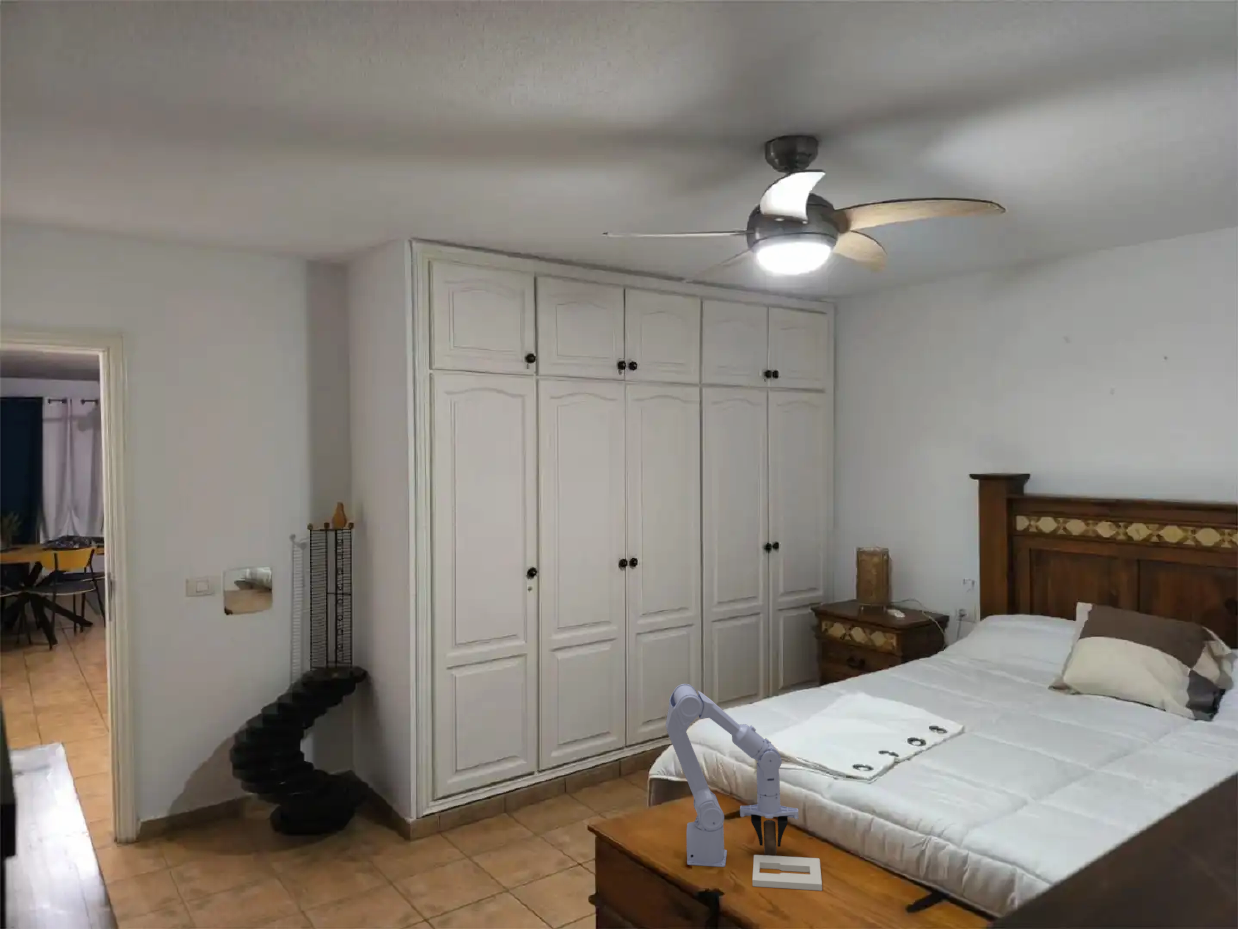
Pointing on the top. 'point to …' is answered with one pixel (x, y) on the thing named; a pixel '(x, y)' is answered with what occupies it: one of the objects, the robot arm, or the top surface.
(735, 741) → the robot arm
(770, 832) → the peg
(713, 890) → the top surface
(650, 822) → the top surface
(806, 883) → the keyhole plate
